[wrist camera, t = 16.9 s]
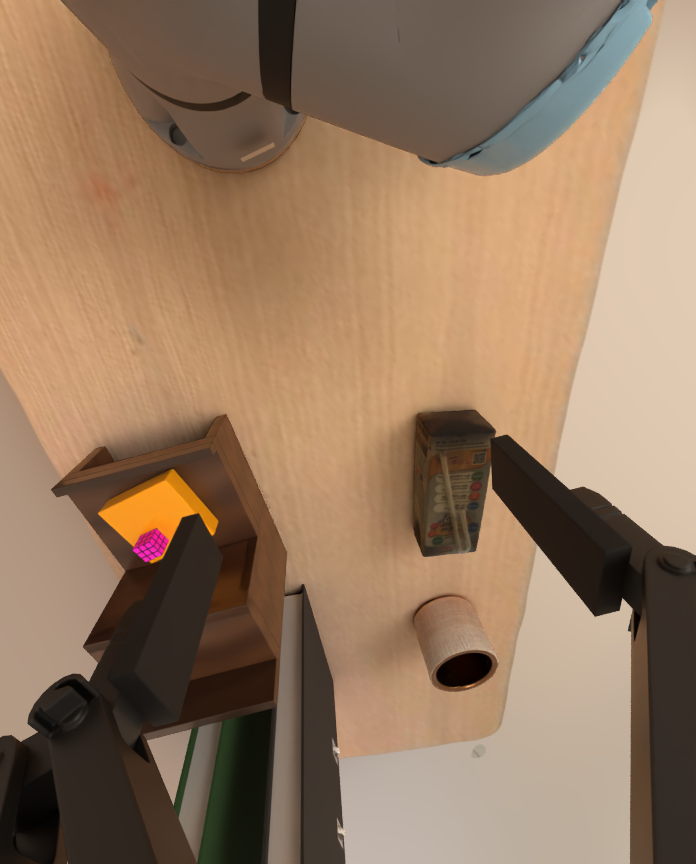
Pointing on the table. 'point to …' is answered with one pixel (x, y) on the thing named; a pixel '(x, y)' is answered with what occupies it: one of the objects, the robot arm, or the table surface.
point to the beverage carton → (450, 480)
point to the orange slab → (154, 514)
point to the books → (270, 767)
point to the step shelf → (236, 584)
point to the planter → (454, 644)
